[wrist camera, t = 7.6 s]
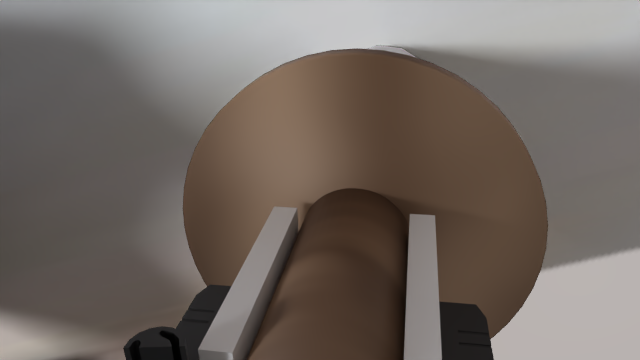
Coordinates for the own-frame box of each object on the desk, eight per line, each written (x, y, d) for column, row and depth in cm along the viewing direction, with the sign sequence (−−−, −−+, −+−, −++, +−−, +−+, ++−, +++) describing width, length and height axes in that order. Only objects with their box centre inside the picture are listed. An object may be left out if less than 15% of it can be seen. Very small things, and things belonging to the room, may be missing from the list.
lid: (214, 342, 22) (96, 576, 14) (171, 49, 17) (-48, 150, 9) (518, 371, 20) (582, 662, 12) (567, 48, 15) (732, 177, 7)
